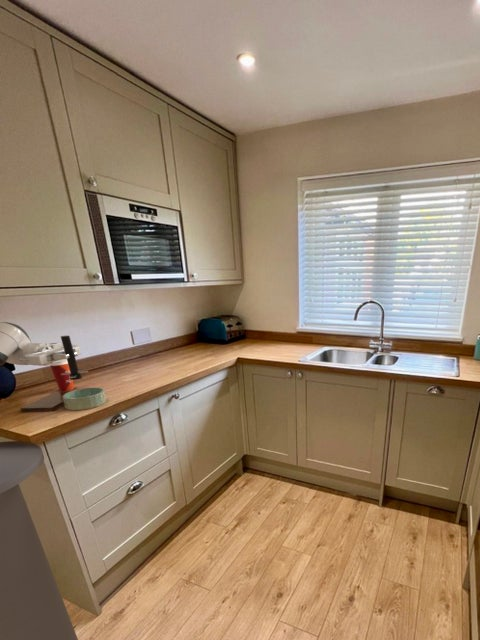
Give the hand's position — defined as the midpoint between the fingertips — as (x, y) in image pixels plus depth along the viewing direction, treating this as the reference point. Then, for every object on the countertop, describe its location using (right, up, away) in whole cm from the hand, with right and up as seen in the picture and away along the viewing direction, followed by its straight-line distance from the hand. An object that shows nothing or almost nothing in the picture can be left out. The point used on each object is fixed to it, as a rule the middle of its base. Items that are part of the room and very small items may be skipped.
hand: (72, 355), depth 129 cm
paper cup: (-21, -13, +26) cm, 35 cm away
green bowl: (+1, -19, +7) cm, 21 cm away
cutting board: (-14, -19, +10) cm, 25 cm away
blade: (-1, -9, +3) cm, 10 cm away
